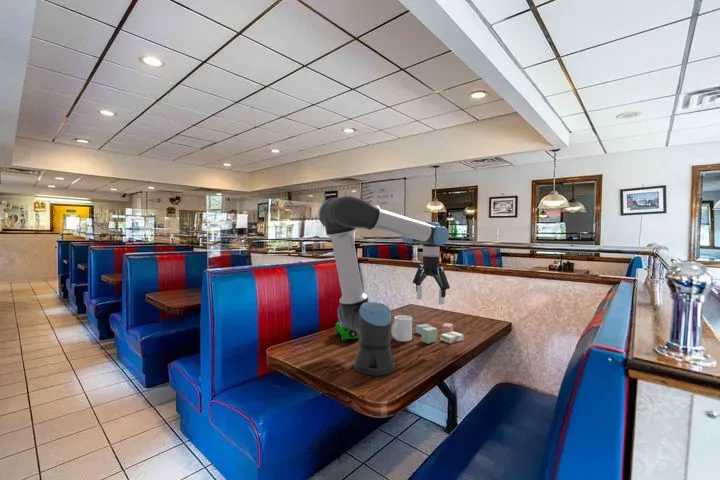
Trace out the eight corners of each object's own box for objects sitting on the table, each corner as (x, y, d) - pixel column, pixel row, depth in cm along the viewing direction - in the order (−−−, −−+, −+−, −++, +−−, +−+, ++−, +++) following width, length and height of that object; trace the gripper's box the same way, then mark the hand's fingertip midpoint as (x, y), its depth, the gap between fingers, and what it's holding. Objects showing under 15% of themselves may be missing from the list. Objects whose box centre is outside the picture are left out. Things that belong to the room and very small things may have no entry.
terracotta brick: (450, 334, 170) (450, 326, 170) (442, 333, 172) (442, 325, 172) (453, 331, 176) (453, 323, 175) (445, 330, 177) (445, 322, 177)
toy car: (350, 332, 172) (350, 312, 172) (362, 343, 156) (362, 321, 156) (333, 333, 169) (334, 313, 169) (344, 345, 153) (344, 323, 153)
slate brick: (420, 335, 169) (420, 327, 169) (416, 332, 173) (416, 324, 173) (431, 333, 171) (431, 325, 171) (426, 331, 175) (426, 323, 175)
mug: (397, 344, 154) (398, 322, 154) (384, 340, 160) (385, 318, 160) (415, 339, 162) (415, 317, 162) (402, 335, 168) (402, 314, 168)
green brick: (428, 343, 156) (428, 330, 156) (421, 341, 160) (421, 328, 159) (436, 341, 160) (437, 328, 160) (430, 338, 163) (430, 326, 163)
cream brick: (450, 344, 157) (450, 337, 157) (440, 340, 162) (440, 334, 162) (463, 341, 162) (463, 334, 162) (453, 337, 167) (453, 331, 167)
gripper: (458, 257, 151) (457, 305, 152) (417, 253, 171) (416, 296, 172) (447, 258, 146) (446, 307, 147) (406, 254, 166) (405, 297, 167)
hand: (429, 301), depth 159 cm, fingers open, 13 cm apart
